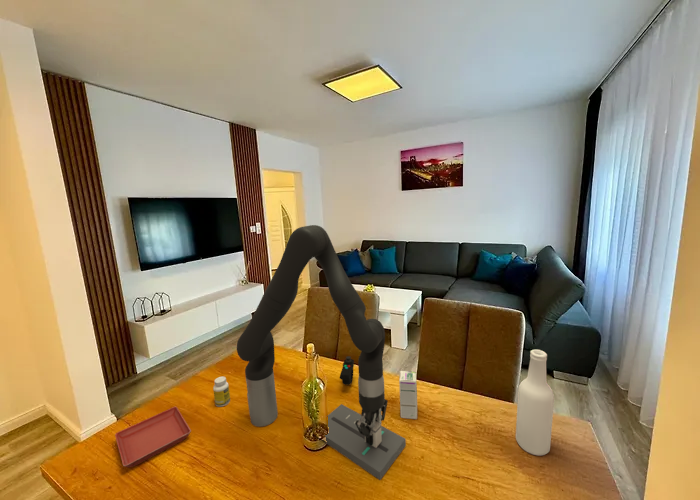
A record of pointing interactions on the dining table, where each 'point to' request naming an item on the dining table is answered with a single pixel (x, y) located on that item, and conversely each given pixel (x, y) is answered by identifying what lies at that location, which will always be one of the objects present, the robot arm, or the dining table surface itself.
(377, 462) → the console
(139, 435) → the plant saucer
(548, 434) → the alcohol
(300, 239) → the robot arm
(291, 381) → the dining table surface
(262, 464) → the dining table surface
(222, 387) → the supplement bottle
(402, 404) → the syrup box
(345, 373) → the controller
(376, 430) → the fader tab
